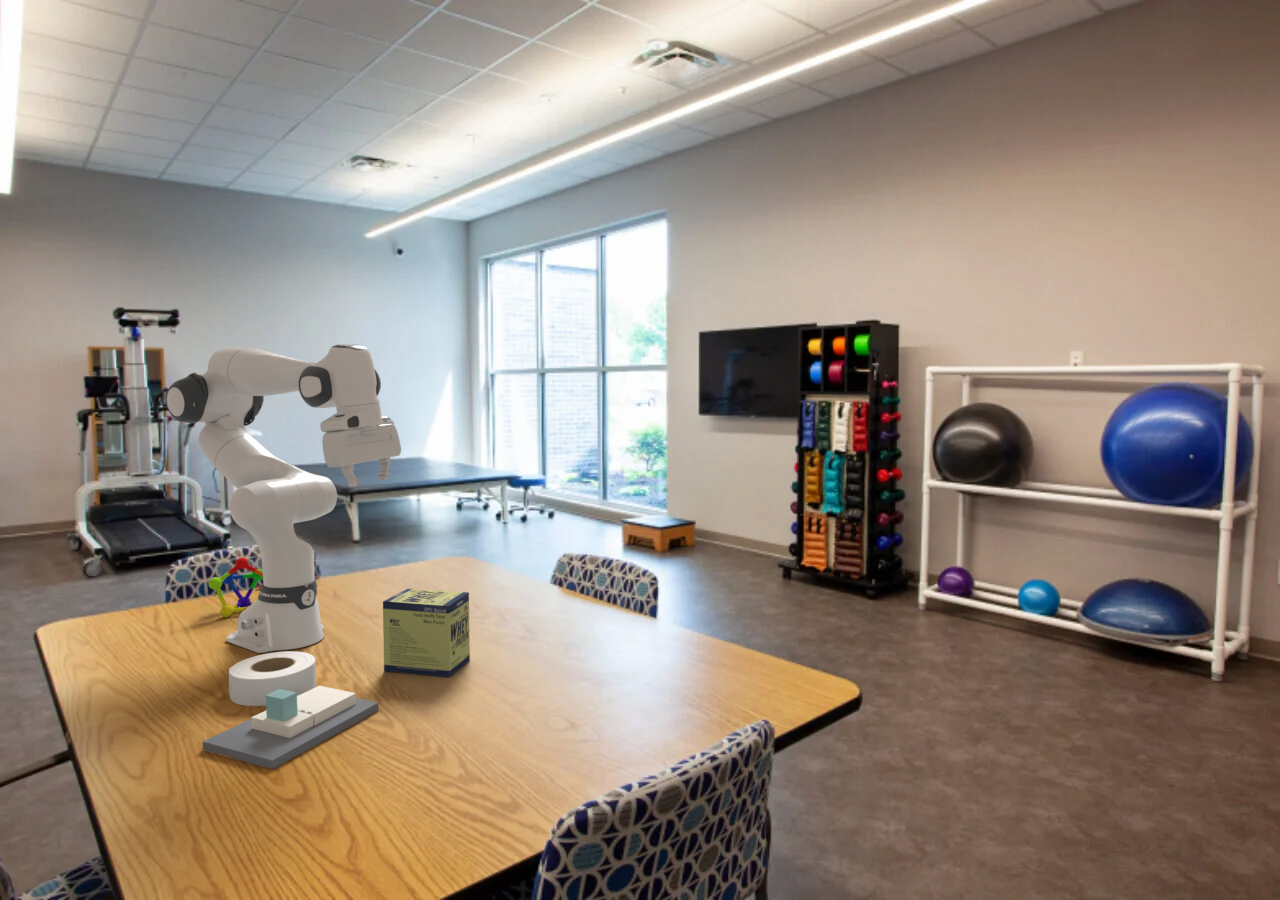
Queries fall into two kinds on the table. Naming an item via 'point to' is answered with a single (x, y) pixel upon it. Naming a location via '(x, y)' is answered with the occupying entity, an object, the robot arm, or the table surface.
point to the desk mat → (283, 738)
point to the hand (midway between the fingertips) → (369, 482)
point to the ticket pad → (324, 702)
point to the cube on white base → (282, 715)
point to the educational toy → (228, 578)
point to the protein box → (426, 632)
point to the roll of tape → (271, 676)
